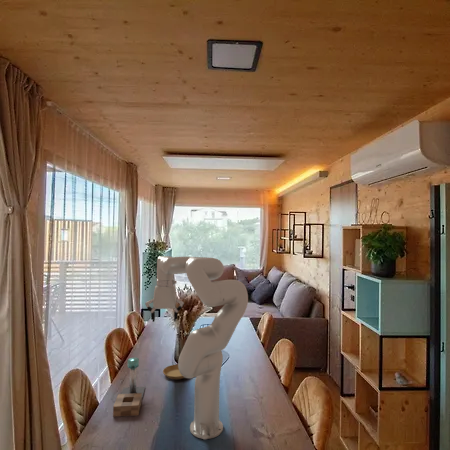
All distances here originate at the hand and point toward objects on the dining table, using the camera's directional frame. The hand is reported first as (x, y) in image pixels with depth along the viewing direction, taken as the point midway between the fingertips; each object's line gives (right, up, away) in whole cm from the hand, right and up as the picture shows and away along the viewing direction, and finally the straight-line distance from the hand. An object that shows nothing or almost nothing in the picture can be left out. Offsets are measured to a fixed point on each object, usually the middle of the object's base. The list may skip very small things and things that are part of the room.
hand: (164, 320), depth 147 cm
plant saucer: (+3, -35, +22) cm, 42 cm away
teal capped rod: (-15, -34, +1) cm, 37 cm away
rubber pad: (-15, -34, +2) cm, 37 cm away
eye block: (-13, -34, -11) cm, 38 cm away
